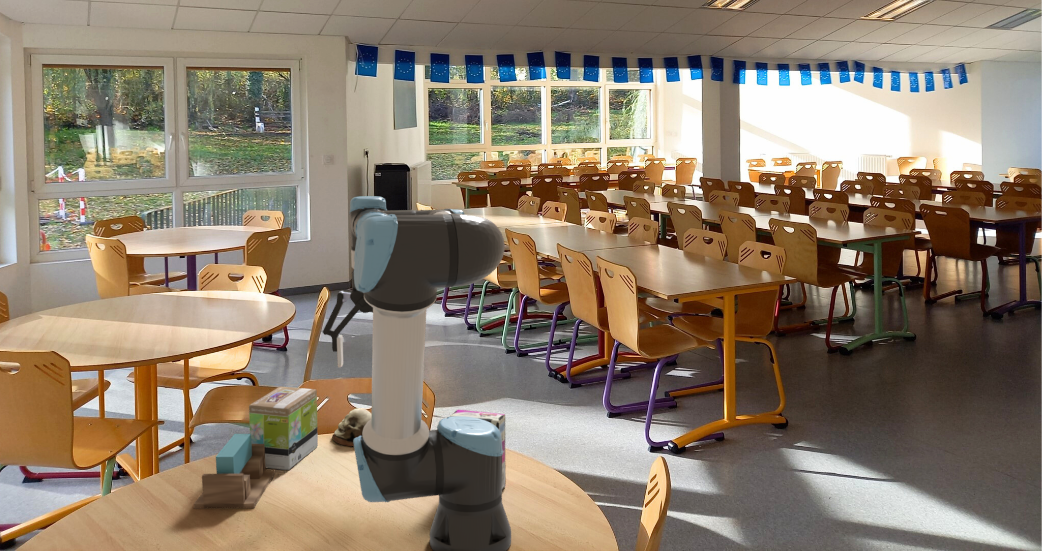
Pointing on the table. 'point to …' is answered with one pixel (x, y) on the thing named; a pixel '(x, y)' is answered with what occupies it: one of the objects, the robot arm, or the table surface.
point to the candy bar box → (495, 420)
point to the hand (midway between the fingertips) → (372, 365)
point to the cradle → (237, 484)
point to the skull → (351, 426)
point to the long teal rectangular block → (234, 454)
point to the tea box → (285, 425)
